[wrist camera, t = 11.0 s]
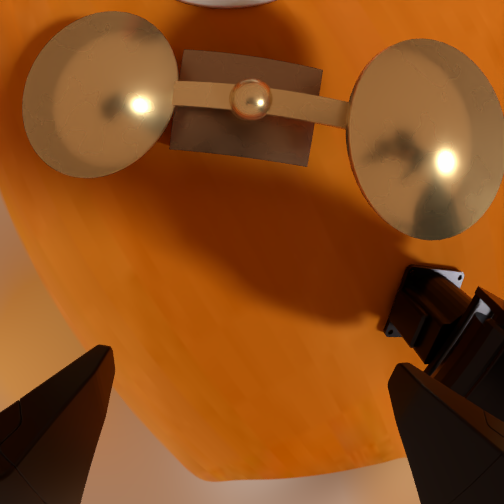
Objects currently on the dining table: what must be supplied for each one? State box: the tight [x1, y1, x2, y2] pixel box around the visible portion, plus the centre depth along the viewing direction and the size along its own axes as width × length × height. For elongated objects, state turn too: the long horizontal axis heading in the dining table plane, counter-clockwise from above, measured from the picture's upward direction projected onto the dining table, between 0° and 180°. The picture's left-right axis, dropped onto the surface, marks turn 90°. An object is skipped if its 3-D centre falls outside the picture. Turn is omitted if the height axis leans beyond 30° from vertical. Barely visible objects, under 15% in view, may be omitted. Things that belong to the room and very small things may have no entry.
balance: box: [22, 11, 504, 240], centre depth 14 cm, size 25×9×8 cm, turn 82°
